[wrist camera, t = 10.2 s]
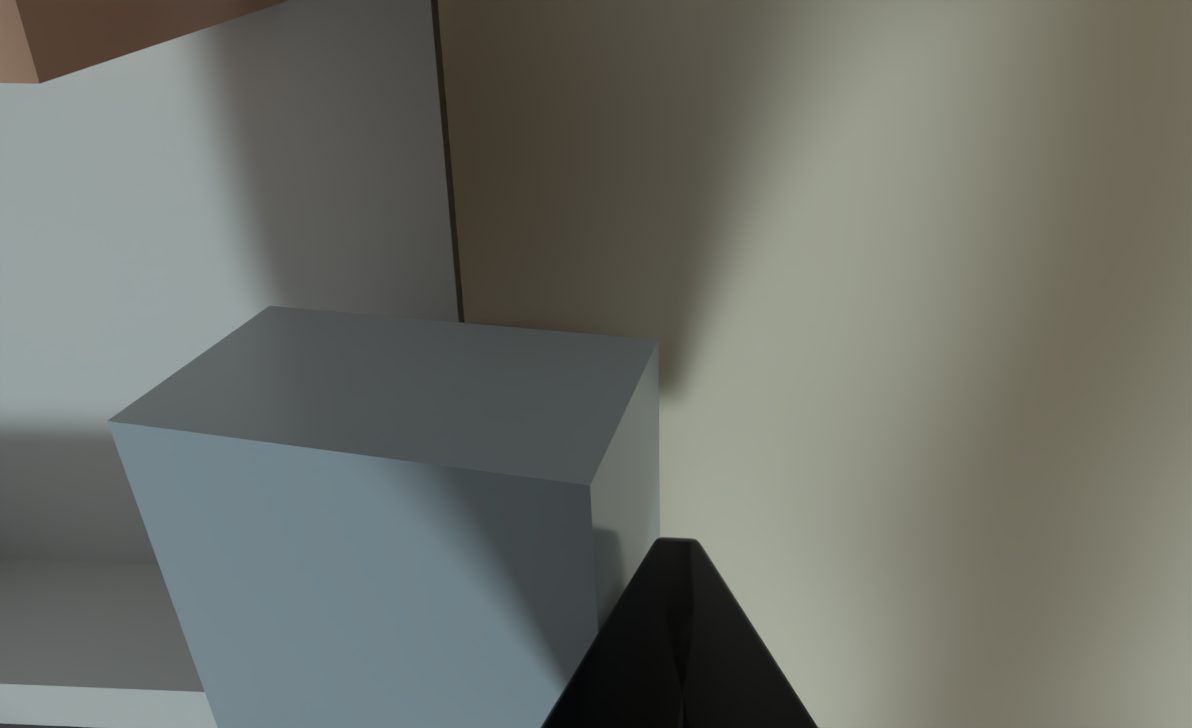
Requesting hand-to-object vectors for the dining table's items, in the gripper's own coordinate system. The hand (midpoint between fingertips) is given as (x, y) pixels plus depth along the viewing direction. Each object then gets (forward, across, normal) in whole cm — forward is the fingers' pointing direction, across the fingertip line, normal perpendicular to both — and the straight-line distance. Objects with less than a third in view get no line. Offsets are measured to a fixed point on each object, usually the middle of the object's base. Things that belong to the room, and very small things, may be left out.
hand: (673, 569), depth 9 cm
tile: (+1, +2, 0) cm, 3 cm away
